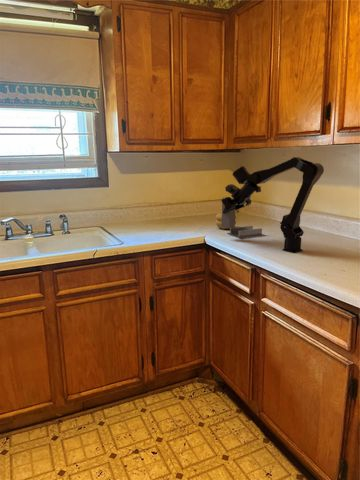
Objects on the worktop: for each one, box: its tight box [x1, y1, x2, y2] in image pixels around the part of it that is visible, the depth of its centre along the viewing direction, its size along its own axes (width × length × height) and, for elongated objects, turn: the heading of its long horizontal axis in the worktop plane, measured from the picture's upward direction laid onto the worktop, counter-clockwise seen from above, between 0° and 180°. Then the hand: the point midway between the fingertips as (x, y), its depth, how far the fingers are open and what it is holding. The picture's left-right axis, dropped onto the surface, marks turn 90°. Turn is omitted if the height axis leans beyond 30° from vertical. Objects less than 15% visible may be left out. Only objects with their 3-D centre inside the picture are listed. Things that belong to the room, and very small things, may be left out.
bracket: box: [227, 225, 266, 240], centre depth 198 cm, size 13×15×4 cm
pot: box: [215, 211, 237, 230], centre depth 214 cm, size 12×12×10 cm
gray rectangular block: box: [221, 202, 236, 228], centre depth 186 cm, size 5×5×13 cm
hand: (226, 212), depth 187 cm, fingers closed on gray rectangular block, 5 cm apart
